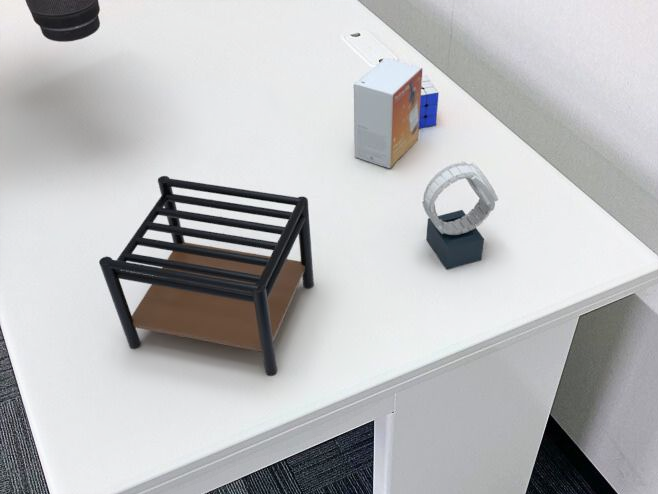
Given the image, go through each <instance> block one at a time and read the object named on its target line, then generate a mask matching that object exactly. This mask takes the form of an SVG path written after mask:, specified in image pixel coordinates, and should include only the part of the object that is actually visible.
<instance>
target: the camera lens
mask: <svg viewBox="0 0 658 494" xmlns="http://www.w3.org/2000/svg"><path fill="white" fill-rule="evenodd" d="M25 4H26V6H27V8H28V11H29V12H30V14H31V17H32V19H33V21H34V23H35V24H36V25H38V26H39V28H40V31H41V33H42V35H43V37H44V38H46V39H47V40H49V41H52V42H58V43H68V42H69V43H70V42H76V41H80V40H83V39H86V38H88V37H90V36H92V35H93V34H95V33H96V32H97V31H98V30H99V28H100V27H101V22H100V18H99V17H100V16H99V15H100V11H101V7H100V3H99V0H25Z"/></svg>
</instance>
